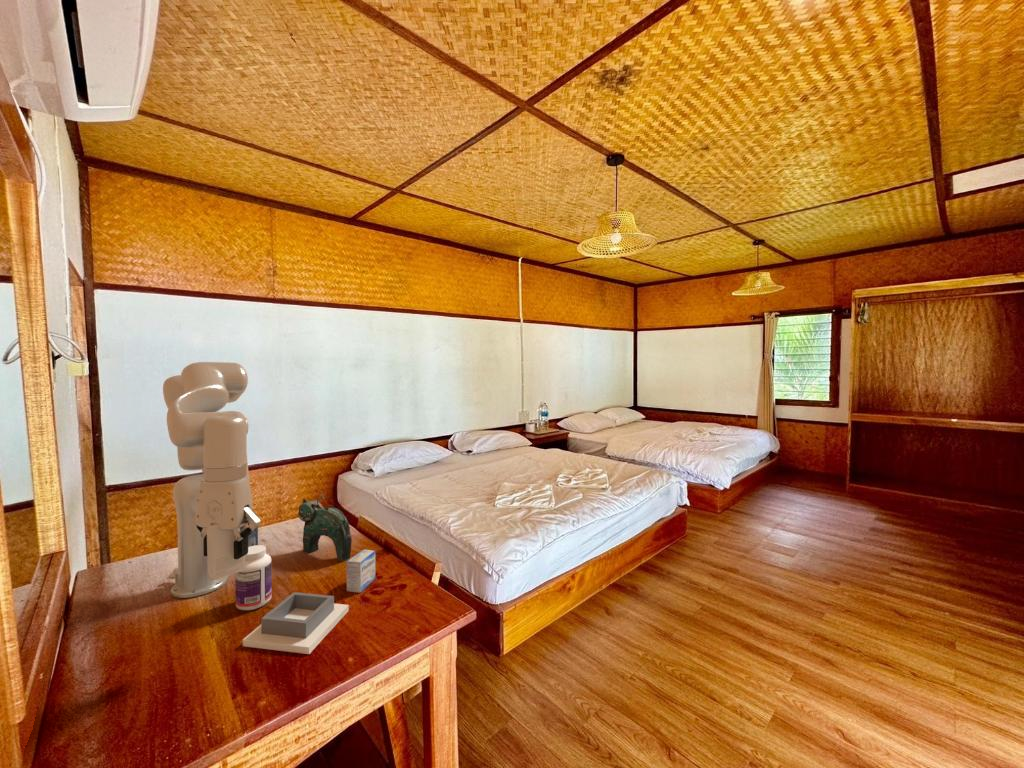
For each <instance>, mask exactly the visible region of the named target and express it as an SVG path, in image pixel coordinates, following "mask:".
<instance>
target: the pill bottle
mask: <svg viewBox="0 0 1024 768" xmlns="http://www.w3.org/2000/svg"><path fill="white" fill-rule="evenodd" d="M266 547H267V546H265V545H263V544H262V545H261V544H259V545H255V546H251V547H248V554H246V555H245V571H242V572H239V573H236V574H234V576H235V577H234V578H235V580H234V581H235V583H234V585H235V589H234V590H235V592H234V593H235V597H234V598H235V606H236V609H238V610H240V611H254V610H257V609H260V608H261V607H263V606H265V605H266V604H268V603H269V602H270V601H271V599H272V595H273V588H272V587H273V584H272V583H273V581H272V580H273V578H272V569H273V568H272V565H273V564H272V560H273V559H272V557H271V556H270V554H269V553H267V548H266Z"/></svg>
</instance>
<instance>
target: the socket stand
mask: <svg viewBox="0 0 1024 768" xmlns="http://www.w3.org/2000/svg"><path fill="white" fill-rule="evenodd" d="M349 610H350V605H349V604H345V603H344V604H342V603H335V596H334V595H327V594H319V593H318V594H316V593H305V592H296V591H294V592H292V593H291V594H290V595H288V596H287V597H286V598H285V599H284V600H282V601H281V602H279V604H278V605H276V606H275V607H274V608H272V609H271V610H270V611H268V612H267V613H266V614H264V616H262V617H261V619H260V620H261V622H260V625H258V626H257V627H256V628H255V629H254V630H252V631H251V632H250V633H249V634H248V635H246V636H245V637H243V638H242V647H245V648H254V649H255V648H256V649H263V650H272V651H280V652H286V653H287V652H288V653H297V654H306V655H310V654H311V653H312V652H313V651H314V650H315V648H316V647H317V646H318V645H319V644H320V643H321V642H322V641H323V640H324V638H325V637H326V636H327V635H328V634H329V633H330V632H331V631H332V630H333V629H334V628H335V627H336V625H337V624H338V623H339V622H340V621H341V620H342V619H343V618H344V617H345V616H346V614H347V613H348V612H349Z"/></svg>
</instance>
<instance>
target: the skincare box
mask: <svg viewBox="0 0 1024 768" xmlns="http://www.w3.org/2000/svg"><path fill="white" fill-rule="evenodd" d="M242 523H243V521H242ZM206 530H207V559H208V574H209V576H210V577H211V579H212V580H213V581H214V580H217V579H220V578H223V577H226V576H228V577H229V576H232V575H235V574H236V573H239V572H242V571H245V555H244V556H243V557H241V558H239V559H234V541H236V540H237V539H236V537H235V535H234V532H233V530H222V529H218V525H217V524H209V528H206ZM240 531H241V533H242V532H243V529H242V527H240Z"/></svg>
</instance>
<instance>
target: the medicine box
mask: <svg viewBox="0 0 1024 768" xmlns="http://www.w3.org/2000/svg"><path fill="white" fill-rule="evenodd" d="M375 580H376V550H371V549H362V550H360V551H359V552H358V553H356V554H355V555H353V556H352V557H350V558H349V559H347V560H346V591H347V592H351V593H352V592H353V593H360V594H361V593H362V592H363V591H364V590H365V589H366V588H367V587H369V585H370V584H371V583H373V581H375Z"/></svg>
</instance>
